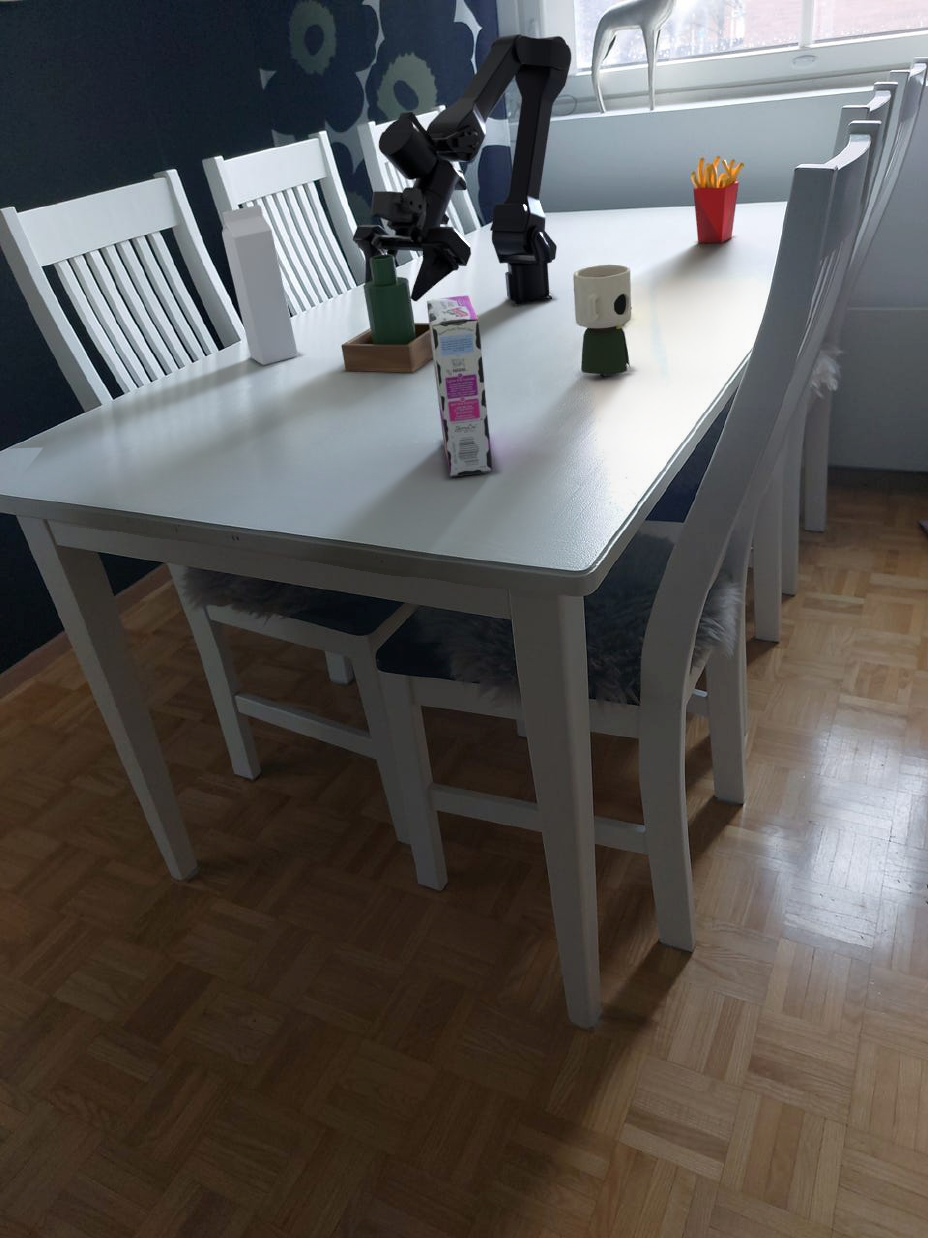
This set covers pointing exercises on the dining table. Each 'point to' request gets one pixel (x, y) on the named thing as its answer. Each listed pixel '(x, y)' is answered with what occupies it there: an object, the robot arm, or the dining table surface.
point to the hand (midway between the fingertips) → (389, 297)
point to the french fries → (715, 200)
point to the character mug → (603, 317)
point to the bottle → (389, 304)
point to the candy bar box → (460, 384)
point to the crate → (388, 353)
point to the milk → (258, 285)
